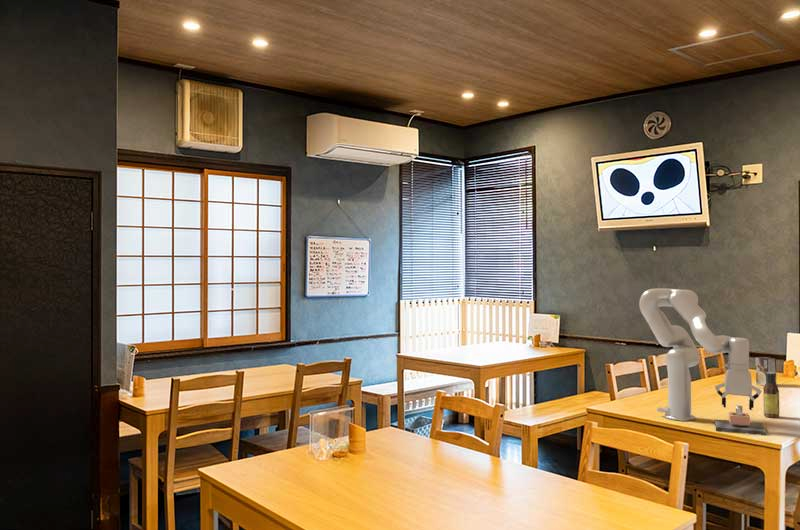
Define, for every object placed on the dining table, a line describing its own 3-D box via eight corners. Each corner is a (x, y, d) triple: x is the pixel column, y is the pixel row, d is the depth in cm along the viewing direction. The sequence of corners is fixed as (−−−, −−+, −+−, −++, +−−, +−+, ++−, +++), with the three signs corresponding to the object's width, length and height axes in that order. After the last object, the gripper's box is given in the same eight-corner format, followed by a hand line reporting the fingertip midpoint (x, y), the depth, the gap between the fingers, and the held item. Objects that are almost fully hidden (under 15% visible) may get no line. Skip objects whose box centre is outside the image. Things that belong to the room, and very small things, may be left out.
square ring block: (730, 423, 271) (730, 415, 271) (729, 420, 277) (728, 412, 277) (749, 425, 268) (749, 416, 268) (748, 421, 275) (748, 413, 275)
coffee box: (777, 386, 377) (777, 358, 377) (768, 387, 375) (768, 358, 375) (763, 383, 385) (763, 356, 386) (755, 384, 383) (755, 357, 384)
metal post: (731, 426, 271) (731, 406, 271) (731, 423, 277) (730, 404, 277) (747, 427, 269) (747, 407, 269) (746, 424, 274) (746, 405, 274)
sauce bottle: (781, 418, 292) (781, 374, 292) (766, 418, 293) (766, 373, 294) (776, 415, 298) (776, 372, 299) (761, 415, 300) (761, 371, 300)
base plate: (716, 430, 269) (716, 427, 269) (714, 422, 284) (714, 419, 284) (765, 435, 262) (765, 431, 262) (761, 426, 276) (761, 423, 276)
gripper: (715, 366, 273) (714, 407, 273) (762, 370, 266) (761, 412, 266) (715, 364, 280) (714, 404, 280) (761, 367, 273) (760, 408, 273)
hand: (737, 408), depth 273 cm, fingers open, 9 cm apart
